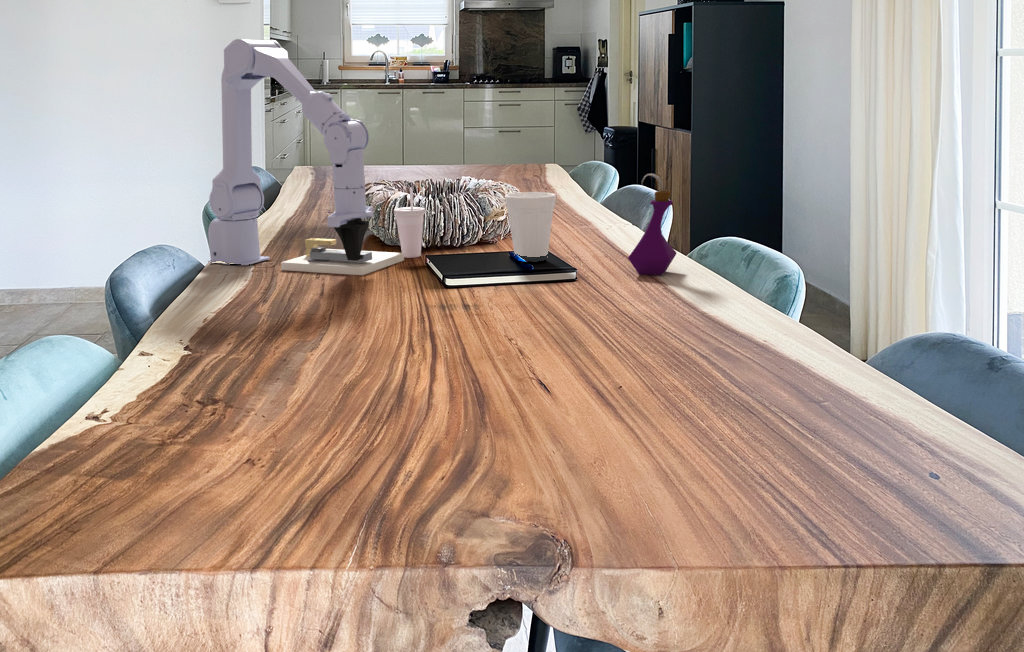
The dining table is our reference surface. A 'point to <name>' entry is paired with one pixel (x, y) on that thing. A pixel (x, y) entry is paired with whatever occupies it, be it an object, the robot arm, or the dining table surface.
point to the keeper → (317, 243)
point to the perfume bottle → (654, 239)
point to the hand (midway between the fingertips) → (353, 260)
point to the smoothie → (410, 228)
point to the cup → (530, 221)
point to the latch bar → (336, 255)
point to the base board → (343, 264)
